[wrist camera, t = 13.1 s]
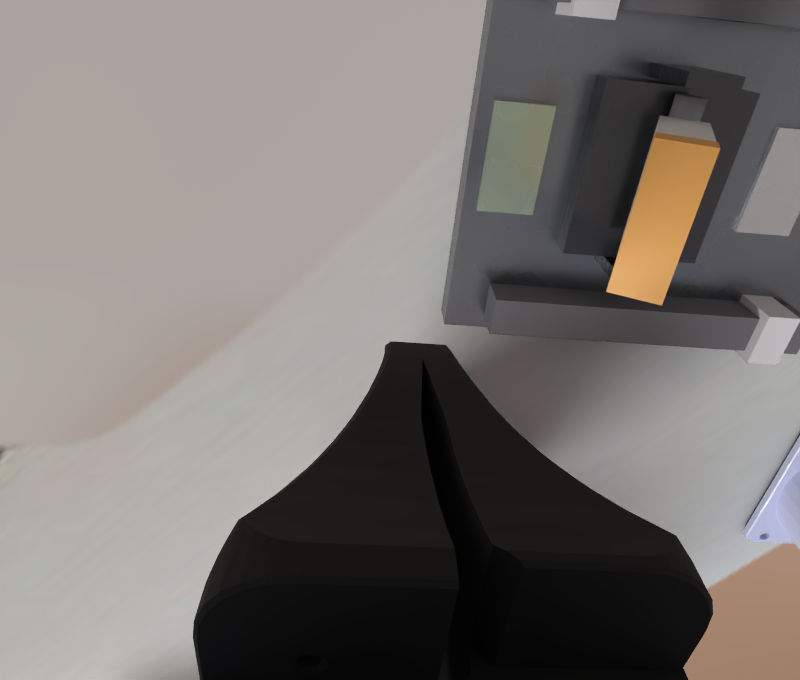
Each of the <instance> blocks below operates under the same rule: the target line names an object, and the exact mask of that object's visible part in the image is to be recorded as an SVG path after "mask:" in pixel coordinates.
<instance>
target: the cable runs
mask: <svg viewBox="0 0 800 680" xmlns="http://www.w3.org/2000/svg"><path fill="white" fill-rule="evenodd" d="M544 1H549V2H557V7H556V12H555V14H559V15H568V16H578V17H587V18H597V19H608V20H615V19H616V15H617V11H618V9H623V10H632V11H641V12H650V13H660V14H669V15H678V16H687V17H696V18H706V19H715V20H724V21H733V22H742V23H752V24H761V25H770V26H779V27H788V28H798V29H800V0H544ZM484 317H485V321H486V324H487V327H488V330H489V333H490V334H502V335H517V336H532V337H547V338H562V339H577V340H592V341H607V342H622V343H637V344H651V345H666V346H681V347H696V348H711V349H726V350H735V351H736V352H737V353H738V354H739V355H740V356H741V357H742V358H743V359H744V360H745V361H746V362H747V363H754V364H769V365H777V364H778V362H779V361H780V359H781V357H782V355H783V353H786V354H797V352H798V351H799V349H800V312H799V311H797V310H796V309H795V308H793V307H792V306H791V305H782V304H781V303H779V302H778V301H777V300H776V299H774V298H773V297H769V296H755V295H742V297H741V299H740V301H727V300H713V299H700V298H686V297H672V296H665V298H664V301H663V304H662V305H658V304H654V303H650V302H645V301H641V300H637V299H633V298H629V297H625V296H621V295H617V294H613V293H609V292H604V291H590V290H577V289H563V288H549V287H536V286H522V285H509V284H495V283H490V286H489V291H488V297H487V302H486V307H485V312H484Z"/></svg>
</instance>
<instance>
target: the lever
mask: <svg viewBox="0 0 800 680" xmlns="http://www.w3.org/2000/svg"><path fill="white" fill-rule="evenodd" d="M707 101H708V98H705V97H701V96H695V95H688V94H675V98H674V101H673V104H672V107H671V110H670V113H669V116H668V117H667V116H661V115H660V116H659V120H658V123H657V126H656V129H655V133H654V136H653V139H652V142H651V145H650V149H649V152H648V155H647V158H646V162H645V165H644V168H643V171H642V174H641V178H640V181H639V184H638V187H637V191H636V194H635V197H634V200H633V203H632V207H631V210H630V213H629V216H628V220H627V223H626V226H625V229H624V232H623V236H622V239H621V242H620V246H619V250H618V253H617V257H616V260H615V264H614V267H613V270H612V273H611V276H610V280H609V283H608V287H607V290H606V292H609V293H613V294H617V295H621V296H625V297H629V298H633V299H637V300H641V301H645V302H650V303H654V304H658V305H662V304H663V301H664V298H665V296H666V293H667V290H668V288H669V285H670V282H671V280H672V277H673V274H674V272H675V269H676V266H677V264H678V261H679V258H680V256H681V253H682V250H683V248H684V245H685V242H686V240H687V237H688V234H689V231H690V229H691V226H692V223H693V221H694V218H695V215H696V213H697V210H698V207H699V205H700V202H701V199H702V197H703V194H704V191H705V189H706V186H707V183H708V181H709V178H710V175H711V173H712V170H713V167H714V165H715V162H716V159H717V156H718V154H719V151H720V146H719V143H718V142H717V141H716V138H715V135H714V132H713V130H712V127H711V124H710V123H707V122H700V121H701V118H702V115H703V112H704V109H705V107H706V104H707Z"/></svg>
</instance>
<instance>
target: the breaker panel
mask: <svg viewBox="0 0 800 680" xmlns="http://www.w3.org/2000/svg"><path fill="white" fill-rule="evenodd" d="M556 7H557V2H549V1H544V0H487V4H486V10H485V17H484V24H483V31H482V38H481V45H480V52H479V58H478V65H477V72H476V79H475V85H474V92H473V99H472V106H471V113H470V120H469V126H468V133H467V140H466V147H465V154H464V160H463V167H462V174H461V181H460V188H459V195H458V201H457V208H456V215H455V222H454V229H453V235H452V242H451V249H450V256H449V263H448V270H447V276H446V283H445V290H444V297H443V304H442V314H443V320H444V324H452V325H467V326H481V327H487V324H486V321H485V317H484V312H485V307H486V302H487V297H488V291H489V286H490V283H495V284H509V285H522V286H536V287H549V288H563V289H577V290H590V291H604V292H606V290H607V287H608V283H609V280H610V276H611V273H612V270H613V267H614V264H615V260H616V257H617V253H618V250H619V246H620V242H621V239H622V236H623V232H624V229H625V226H626V223H627V220H628V216H629V213H630V210H631V207H632V203H633V200H634V197H635V194H636V191H637V187H638V184H639V181H640V178H641V174H642V171H643V168H644V165H645V162H646V158H647V155H648V152H649V149H650V145H651V142H652V139H653V136H654V133H655V129H656V126H657V123H658V120H659V116H660V115H661V116H667V117H668V116H669V113H670V110H671V107H672V104H673V101H674V98H675V94H688V95H695V96H701V97H705V98H708V101H707V104H706V107H705V109H704V112H703V115H702V118H701V121H700V122H707V123H710V124H711V127H712V130H713V132H714V135H715V138H716V141H717V142H718V143H719V146H720V151H719V154H718V156H717V159H716V162H715V165H714V167H713V170H712V173H711V175H710V178H709V181H708V183H707V186H706V189H705V191H704V194H703V197H702V199H701V202H700V205H699V207H698V210H697V213H696V215H695V218H694V221H693V223H692V226H691V229H690V231H689V234H688V237H687V240H686V242H685V245H684V248H683V250H682V253H681V256H680V258H679V261H678V264H677V266H676V269H675V272H674V274H673V277H672V280H671V282H670V285H669V288H668V290H667V293H666V296H672V297H686V298H700V299H713V300H727V301H740V299H741V297H742V295H755V296H769V297H773V298H774V299H776V300H777V301H778V302H779V303H781V304H782V305H791V306H792V307H793V308H795V309H796V310H797V311H799V312H800V29H798V28H788V27H779V26H770V25H761V24H752V23H742V22H733V21H724V20H715V19H706V18H696V17H687V16H678V15H669V14H660V13H650V12H641V11H632V10H623V9H618V11H617V15H616V19H615V20H608V19H597V18H587V17H578V16H568V15H559V14H555V12H556Z"/></svg>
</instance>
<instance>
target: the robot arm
mask: <svg viewBox="0 0 800 680" xmlns="http://www.w3.org/2000/svg"><path fill="white" fill-rule="evenodd" d="M743 535H744V537H745V538H746V540H748V541H751V542H772V543H795V544H796V546H797V547H798V548H799V550H800V436H799V438H798V439H797V441H796V443H795V444H794V446H793V448H792V449H791V451H790V453H789V454H788V456H787V458H786V460H785V461H784V463H783V465H782V466H781V468H780V470H779V471H778V473H777V475H776V476H775V478H774V480H773V481H772V483H771V485H770V486H769V488H768V490H767V491H766V493H765V495H764V496H763V498H762V500H761V501H760V503H759V505H758V507H757V508H756V510H755V512H754V513H753V515H752V517H751V518H750V520H749V522H748V523H747V525H746V527H745V528H744V530H743ZM712 605H713V604H712V598H711V596H710V594H709V593H708V591H707V589H706V587H705V585H704V583H703V581H702V579H701V577H700V575H699V573H698V572H697V570H696V568H695V566H694V564H693V562H692V560H691V559H690V557H689V555H688V554H687V552H686V551H685V549H684V547H683V546H682V544H681V543H680V541H679V540H678V538H677V536H676V535H674V534H672V533H670V532H668V531H666V530H664V529H662V528H660V527H658V526H656V525H654V524H652V523H650V522H648V521H646V520H644V519H642V518H640V517H639V516H637V515H635V514H633V513H631V512H629V511H627V510H625V509H623V508H622V507H620V506H618V505H616V504H615V503H613V502H611V501H610V500H608V499H607V498H605V497H603V496H602V495H600V494H598V493H597V492H595V491H593V490H592V489H590V488H589V487H587V486H586V485H584V484H583V483H581V482H580V481H578V480H577V479H575V478H574V477H572V476H571V475H570V474H568V473H567V472H566V471H564V470H563V469H562V468H560V467H559V466H557V465H556V464H555V463H553V462H552V461H551V460H549V459H548V458H547V457H546V456H544V455H543V454H542V453H541V452H539V451H538V450H537V449H536V448H535V447H534V446H533V445H532V444H530V443H529V442H528V441H527V440H526V439H525V438H524V437H522V436H521V435H520V434H519V433H518V432H517V431H516V430H515V429H514V428H513V427H512V426H511V425H510V424H509V423H508V422H507V421H506V420H505V419H504V418H503V417H502V416H501V415H500V414H499V413H498V412H497V411H496V409H495V408H494V407H493V406H492V405H491V404H490V403H489V401H488V400H487V399H486V398H485V396H484V395H483V394H482V393H481V392H480V390H479V389H478V388H477V387H476V385H475V384H474V383H473V381H472V380H471V379H470V377H469V376H468V375H467V373H466V372H465V371H464V369H463V368H462V367H461V365H460V364H459V362H458V361H457V359H456V358H455V357H454V355H453V354H452V352H451V351H450V349H449V348H448V347H447V346H446V345H437V344H422V343H406V342H390V343H388V344H387V345H386V346H385V354H384V358H383V361H382V364H381V366H380V369H379V371H378V374H377V376H376V378H375V380H374V382H373V384H372V386H371V388H370V390H369V391H368V393H367V395H366V396H365V398H364V400H363V401H362V403H361V404H360V406H359V407H358V409H357V411H356V412H355V414H354V415H353V417H352V418H351V419H350V421H349V422H348V424H347V425H346V426H345V427H344V429H343V430H342V431H341V432H340V434H339V435H338V436H337V437H336V439H335V440H334V441H333V442H332V443H331V444H330V445H329V446H328V447H327V449H326V450H325V451H324V452H323V453H322V454H321V455H320V456H319V457H318V458H317V459H316V460H315V461H314V462H313V463H312V464H311V465H310V466H309V467H308V468H307V469H306V470H304V471H303V472H302V473H301V474H300V475H299V476H297V477H296V478H295V479H294V480H293V481H292V482H290V483H289V484H288V485H287V486H286V487H285V488H283V489H282V490H281V491H280V492H278V493H277V494H276V495H274V496H273V497H272V498H270V499H269V500H267V501H266V502H264V503H263V504H261V505H260V506H259V507H257V508H256V509H254V510H253V511H251V512H250V513H248V514H247V515H246V516H244V517H242V518H241V519H239V520H238V522H237V523H236V525H235V526H234V528H233V530H232V532H231V533H230V535H229V537H228V538H227V540H226V542H225V544H224V546H223V547H222V549H221V551H220V553H219V555H218V557H217V559H216V561H215V563H214V566H213V568H212V570H211V572H210V574H209V577H208V579H207V582H206V584H205V587H204V590H203V593H202V597H201V600H200V603H199V607H198V610H197V613H196V616H195V620H194V629H193V640H194V646H195V652H196V658H197V664H198V670H199V676H200V680H688V678H687V676H686V673H685V671H684V669H683V667H684V665H685V663H686V662H687V660H688V659H689V657H690V655H691V654H692V652H693V651H694V649H695V647H696V646H697V644H698V643H699V641H700V640H701V638H702V637H703V635H704V633H705V631H706V629H707V627H708V625H709V622H710V620H711V617H712V615H713V606H712Z"/></svg>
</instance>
